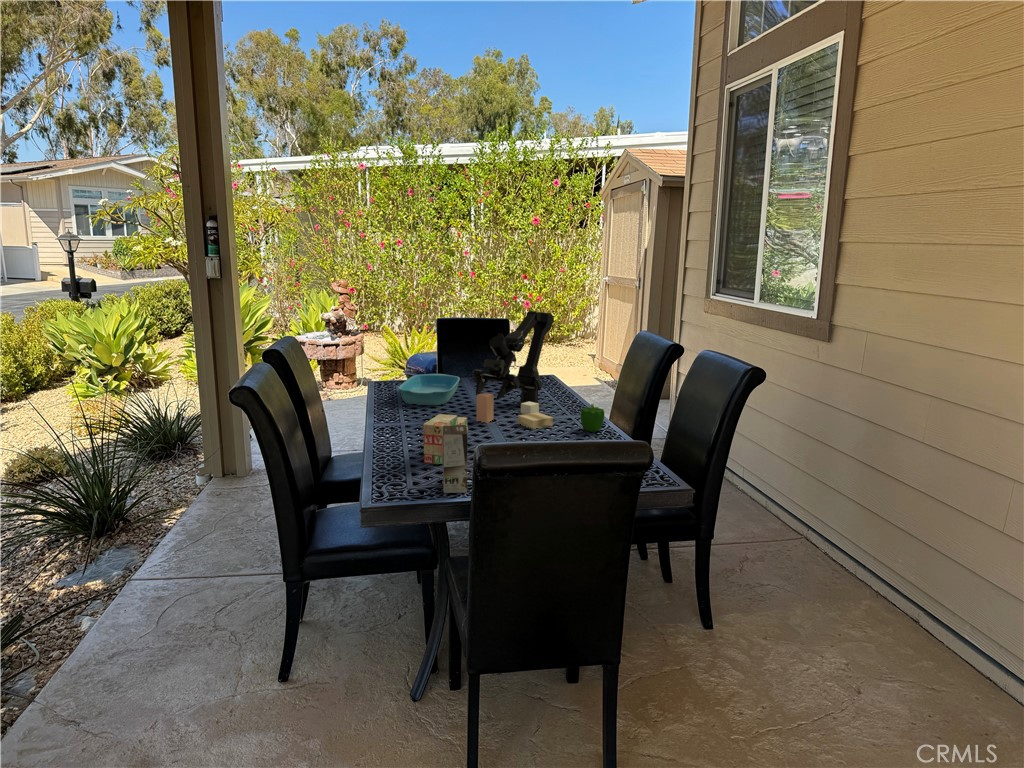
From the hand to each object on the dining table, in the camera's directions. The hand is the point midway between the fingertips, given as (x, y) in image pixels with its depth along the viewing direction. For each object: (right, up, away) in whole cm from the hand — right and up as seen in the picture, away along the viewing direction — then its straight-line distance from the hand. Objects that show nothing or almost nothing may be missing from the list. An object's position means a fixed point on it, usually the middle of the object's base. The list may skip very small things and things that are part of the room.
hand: (486, 397), depth 241 cm
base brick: (+18, -10, -3) cm, 21 cm away
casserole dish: (-25, -1, +37) cm, 45 cm away
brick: (+16, -7, +13) cm, 22 cm away
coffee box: (-6, -23, -66) cm, 70 cm away
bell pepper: (+38, -12, -9) cm, 40 cm away
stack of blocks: (-11, -17, -38) cm, 43 cm away
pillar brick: (-1, -9, +1) cm, 9 cm away
